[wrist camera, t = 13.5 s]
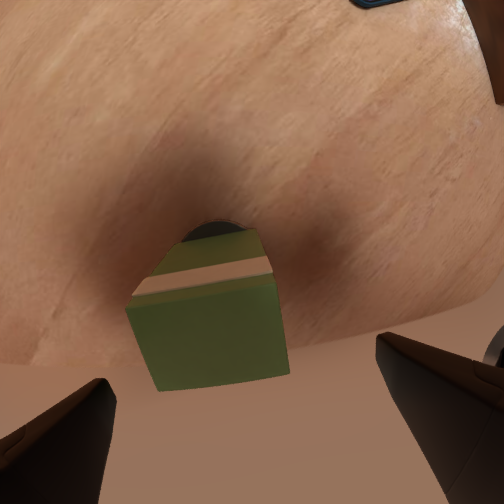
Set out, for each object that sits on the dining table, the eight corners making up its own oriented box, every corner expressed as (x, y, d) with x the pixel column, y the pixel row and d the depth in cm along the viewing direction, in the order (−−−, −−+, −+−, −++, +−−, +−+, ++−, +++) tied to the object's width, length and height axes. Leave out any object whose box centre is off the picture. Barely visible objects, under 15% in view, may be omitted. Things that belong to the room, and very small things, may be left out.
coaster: (275, 285, 22) (276, 288, 21) (197, 312, 22) (197, 316, 21) (246, 206, 20) (246, 207, 19) (164, 237, 20) (162, 239, 20)
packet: (286, 385, 17) (294, 363, 9) (199, 398, 17) (127, 385, 9) (258, 250, 22) (245, 145, 14) (185, 263, 22) (134, 170, 14)
